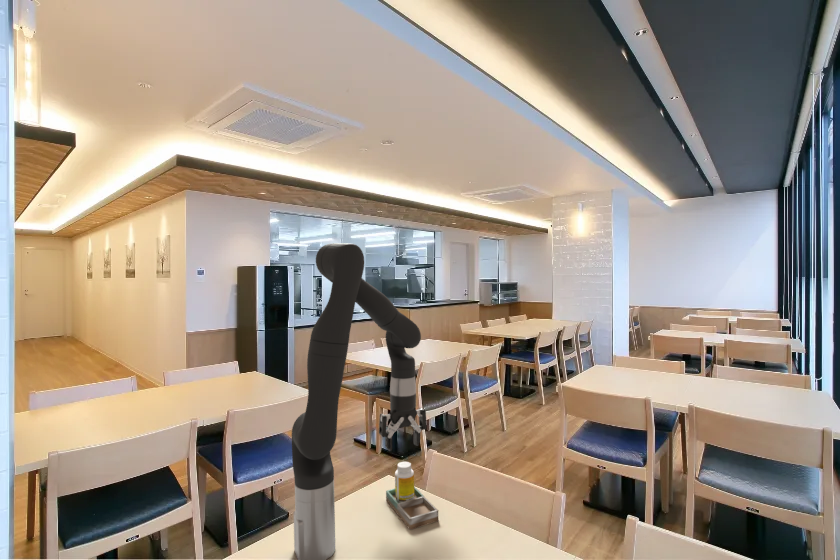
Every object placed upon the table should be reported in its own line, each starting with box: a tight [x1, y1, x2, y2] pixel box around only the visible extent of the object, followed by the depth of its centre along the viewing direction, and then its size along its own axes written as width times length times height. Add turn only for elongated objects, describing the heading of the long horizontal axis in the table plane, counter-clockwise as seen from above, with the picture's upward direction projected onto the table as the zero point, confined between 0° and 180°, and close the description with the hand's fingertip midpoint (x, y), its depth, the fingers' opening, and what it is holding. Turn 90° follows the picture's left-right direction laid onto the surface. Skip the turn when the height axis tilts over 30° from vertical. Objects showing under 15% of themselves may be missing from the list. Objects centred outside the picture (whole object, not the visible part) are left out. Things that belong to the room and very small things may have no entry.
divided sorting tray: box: [385, 485, 440, 531], centre depth 119 cm, size 8×16×3 cm, turn 27°
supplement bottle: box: [394, 461, 415, 503], centre depth 122 cm, size 6×6×10 cm
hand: (403, 447), depth 122 cm, fingers open, 8 cm apart
